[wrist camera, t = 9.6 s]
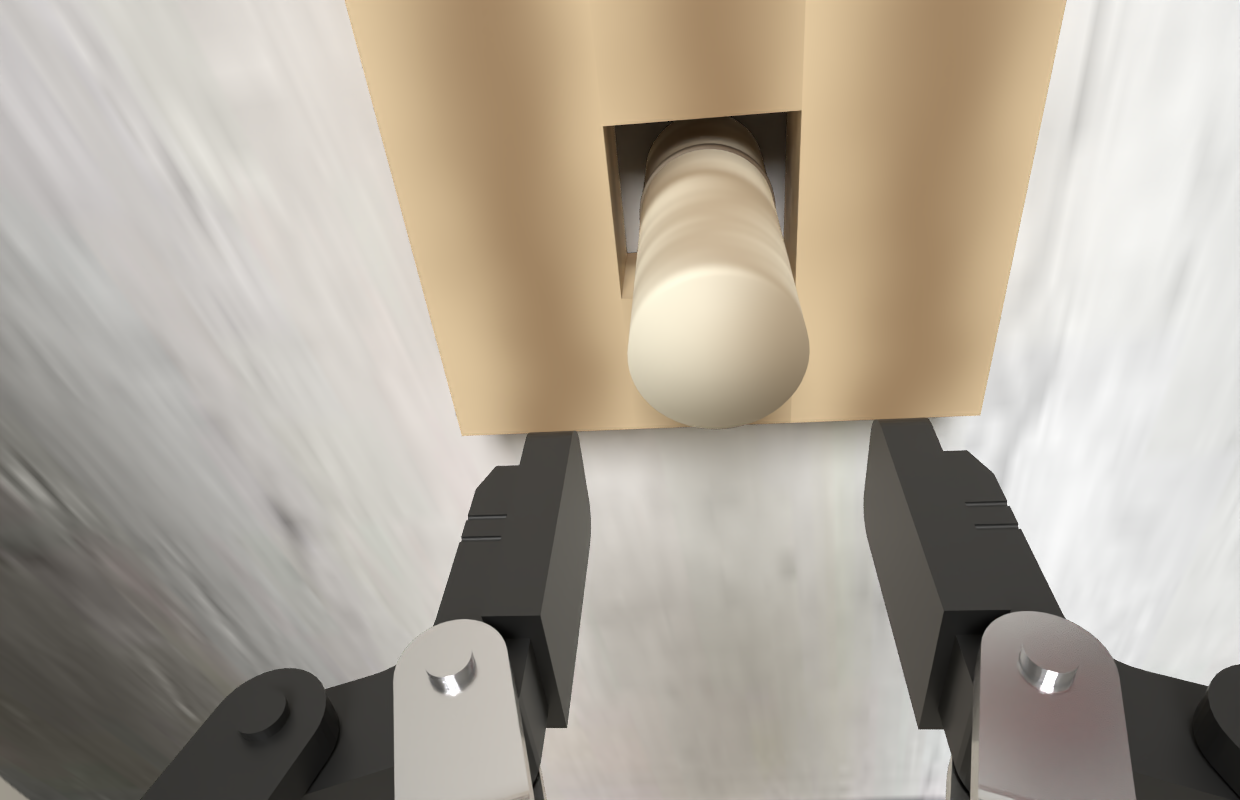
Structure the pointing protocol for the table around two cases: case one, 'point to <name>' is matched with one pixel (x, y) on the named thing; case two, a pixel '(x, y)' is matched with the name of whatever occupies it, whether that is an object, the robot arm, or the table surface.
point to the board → (691, 89)
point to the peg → (713, 282)
